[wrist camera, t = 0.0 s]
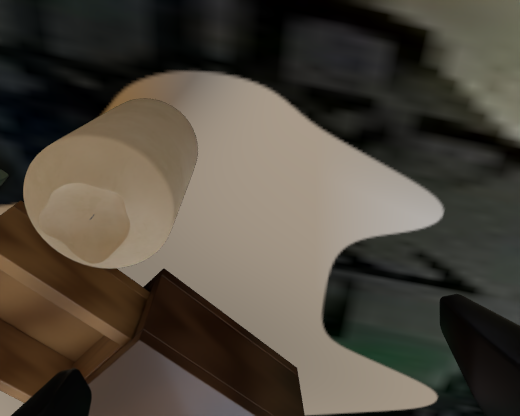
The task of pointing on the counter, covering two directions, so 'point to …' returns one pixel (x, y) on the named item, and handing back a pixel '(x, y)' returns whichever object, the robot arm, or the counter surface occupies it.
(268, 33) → the counter surface
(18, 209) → the drawer
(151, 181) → the candle
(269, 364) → the cabinet
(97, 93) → the counter surface
